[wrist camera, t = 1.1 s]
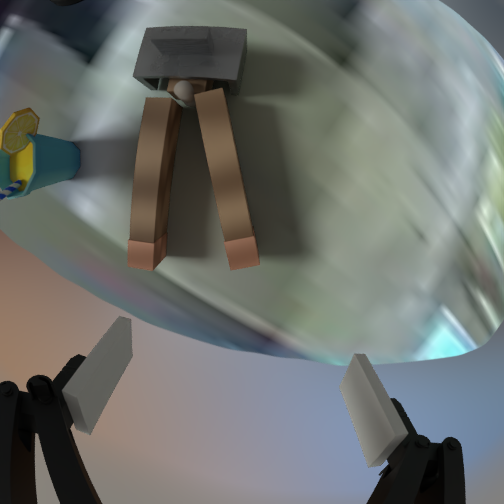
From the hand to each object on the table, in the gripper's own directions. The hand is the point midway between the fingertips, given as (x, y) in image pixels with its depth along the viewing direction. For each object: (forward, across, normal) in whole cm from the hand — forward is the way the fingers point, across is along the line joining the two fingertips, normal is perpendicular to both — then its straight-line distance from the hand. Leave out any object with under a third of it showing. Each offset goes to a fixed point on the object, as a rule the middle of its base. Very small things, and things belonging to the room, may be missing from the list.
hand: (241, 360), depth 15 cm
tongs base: (+19, -10, +10) cm, 24 cm away
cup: (+20, -26, +8) cm, 34 cm away
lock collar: (+19, -10, +21) cm, 30 cm away
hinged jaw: (+19, -3, +9) cm, 21 cm away
